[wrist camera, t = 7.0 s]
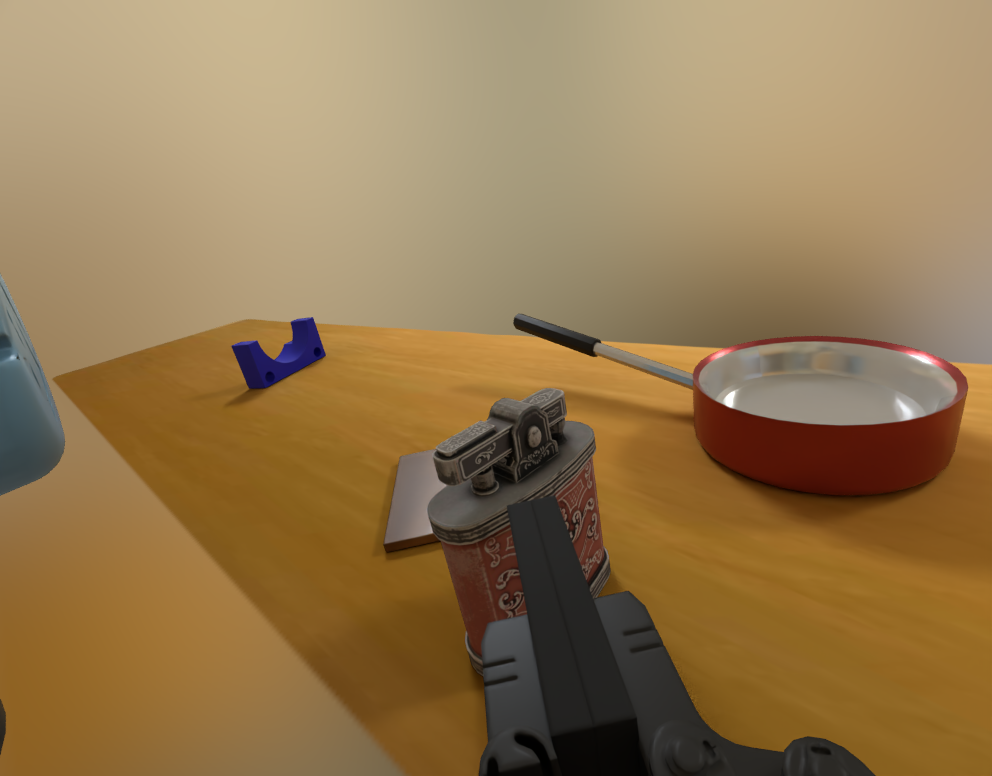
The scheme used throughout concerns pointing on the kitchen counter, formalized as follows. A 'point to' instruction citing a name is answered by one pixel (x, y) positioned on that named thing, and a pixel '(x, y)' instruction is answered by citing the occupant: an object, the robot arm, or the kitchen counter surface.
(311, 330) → the blue notched block
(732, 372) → the frying pan
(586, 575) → the lighter
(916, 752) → the kitchen counter surface
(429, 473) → the plate
